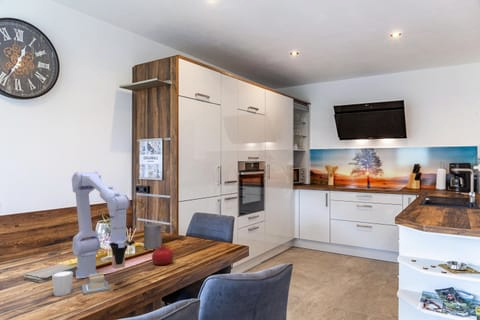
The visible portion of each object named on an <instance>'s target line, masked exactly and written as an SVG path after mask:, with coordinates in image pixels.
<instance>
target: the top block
mask: <svg viewBox="0 0 480 320" xmlns="http://www.w3.org/2000/svg"><path fill="white" fill-rule="evenodd" d="M111 256H112V257H111V259H112V260H111V267H112V268H113V269H120V268H125V266H126V265H125V264H126V257H125V255H124V258H123V263H122V264H118V265H116V262H115V255H113V254H112V255H111Z"/></svg>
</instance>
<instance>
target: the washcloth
mask: <svg viewBox="0 0 480 320" xmlns="http://www.w3.org/2000/svg"><path fill="white" fill-rule="evenodd" d="M76 270H77V265H75V266H74V265H68V264H62V263H61V264H59V263H58V264H55V265H53V266H48V267H44V268H40V269H38V270H35V271H34V270H33V271H31V272H27V273H25V274H24V275H23V277H24V278H23V280H25V281H26V282H27V281H28V282H32V283H36V284H42V283H46V282H50V281H52V275H53V274H55V273H58V272H62V271H72V272H73V274H75V273H76V272H75V271H76Z"/></svg>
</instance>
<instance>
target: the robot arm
mask: <svg viewBox="0 0 480 320" xmlns="http://www.w3.org/2000/svg"><path fill="white" fill-rule="evenodd" d="M71 177H72V178H71V185H72V186H71V187H72V192H73V193H75V200H76V201H75V202H76V213H77V222H78V223H77V224H78V233H77V234H75V235H74V236H73V238H72V246H71V248H72V252H73V254H74V255H75V256H77V258H76V259H77V260H76V266H77V271H76V272H75V278H76V280H79V279H85V278H86V279H87V278H89V275H92V274H98V272H97V266H96V265H97V259H96V258H97V254H98V251H100V249H101V245H102V243H101V240H100V236H99V233H97V232H96V231H95V230H93V224H92V214H91V213H92V212H91V205H90V193H91V192H93V191H95V190H96V191H97V192H99V197H100V198H101V199H102V200H103V201H104V202H105V204H107V205H106V206H107V209H108V215H109V217H110V233H109V234H110V237H109V246H110V248H111V252H112V255H115V262H116V265H118V264H122V263H123V258H124V256H125V253H126V251H127V249H128V247H129V246H128V245H127V244H126V241H128V240H129V241H130V237H128V236H127V210H128V209H130V208H129V207H130V205H131V204H130V203H131V201H130V199H129V197H128V195H126V194H123V195H122V194H120V192H118V191H117V190H116V188H114V186H112V185H107V184H105V182H104V181H103V180H102V175H101V174H100V173H99V172H98V171H84V172H83V171H81V172H79V171H75V172H74V173H73V175H72V176H71Z"/></svg>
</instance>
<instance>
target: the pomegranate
mask: <svg viewBox="0 0 480 320" xmlns="http://www.w3.org/2000/svg"><path fill="white" fill-rule="evenodd" d="M156 248H159V249H157V250H153V253H152V255H151V259H152V263H153V265H157V266H165V265H169V264H171V262H173V259H174V251H173V250H172V249H171V248H170V247H169V246H168V245H167V246H165V247H164V244H161V248H160V247H156Z"/></svg>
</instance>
